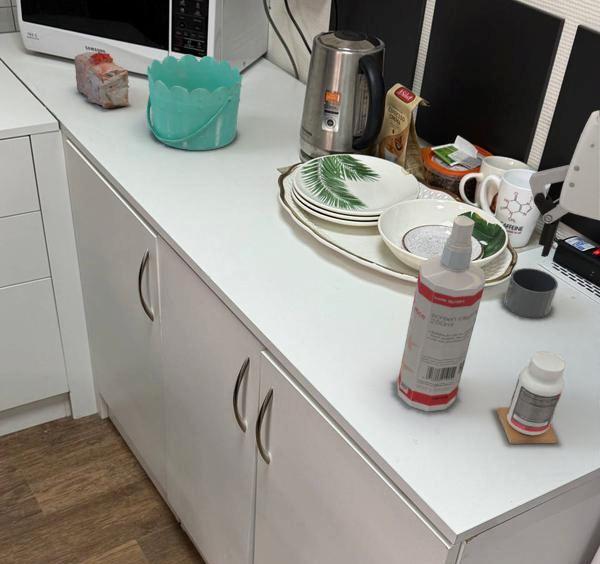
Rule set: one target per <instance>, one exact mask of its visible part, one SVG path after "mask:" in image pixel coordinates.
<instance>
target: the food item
mask: <svg viewBox="0 0 600 564" xmlns="http://www.w3.org/2000/svg"><path fill="white" fill-rule="evenodd" d="M74 69H75V81H76V90H77V91H78V92H79V93H81V94H83V95H84V96H86V97H87V100H88V102H89V103H92V104H96V105H99V106H101V107H102V108H103V109H115V108H121V107H126V106H129V88H130V85H129V74H128V73H129V72H128V69H126V68H124V67H122V66H121V65H119V64H117V63H115V62H114V58H113V57H111V55H110V53H107V52H105V53H103V52H100V51H98V52H95V51H93V52H92V51H87V52H83V53H80V54H77V55H76V56H75V57H74Z"/></svg>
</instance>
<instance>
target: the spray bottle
mask: <svg viewBox="0 0 600 564" xmlns="http://www.w3.org/2000/svg"><path fill="white" fill-rule="evenodd" d="M474 227H475V221H474V220H473V219H472V218H470V217H468V216H466V215H464V214H463V215H457V216H455V218H454V219H453V223H452V227H451V232H450V235H449V236H448V238H446V241H445V242H444V246H443V250H442V252H441V256H431V257H429V258H427V260H425V261H424V262H422V263H420V265H419V270H418V276H417V280H416V285H415V292H414V296H413V301H412V307H411V311H410V317H409V321H408V327H407V332H406V337H405V341H404V342H405V343H404V348H403V352H402V358H401V363H400V369H399V373H398V379H397V396H398V397H399V398H400V399H401V400H402V401H403V402H405V403H406V405H408V406H409V407H411V408H414V409H418V410H421V411H424V412H435V411H445V410H447V408H449V407H450V406H451V405H452V404H453V403H454V402H456V398H457V395H458V390H459V386H460V382H461V378H462V375H463V370H464V367H465V364H466V359H467V355H468V352H469V349H470V344H471V339H472V336H473V332H474V328H475V325H476V320H477V316H478V312H479V308H480V305H481V301H482V297H483V294H484V289H485V286H486V282H487V280H486V276H485V271H484V269H483V268H481V267H479V266H478V265H477V264H475V263H473V262H472V261H471V260H472V254H473V240H472V236H473V231H474Z"/></svg>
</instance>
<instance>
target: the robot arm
mask: <svg viewBox="0 0 600 564" xmlns="http://www.w3.org/2000/svg"><path fill="white" fill-rule="evenodd" d="M561 182H563V184H562V187H561V190H560V196H559V198H557V199H556V200H554V201H553V199H552V198H551V196H550V195H549V192H548V191H547V189H546V185H547V186H548V185H551V184H552V185H553V184H555V183H561ZM529 186H530V191H531V194H532V197H533V203H534V205H535V207H536V208H537V210H538V211H539V213H540V215H541V217H542V221H543V222H544V223H543V226H542V230H541V234H540V237H539V241H538V246H543V248H542V250H541V251H542V252H541V255H540V256H541V257H543V258H546V257H549V254H550V252H551V250H552V248H553V245H554V242H555V238H556V235H557V232H558V229H559V225H560V221H561V218H562V217H563V216H564V215H567V214H568V213H571V214H574V215H578V216H582V217H586V218H589V219H593V220H598V221H600V110H595V111H593V112H591V114H590V116H589V118H588V119H587V122H586V123H585V126H584V128H583V130H582V132H581V133H580V137H579V139H578V142H577V144H576V147H575V149H574V152H573V155H572V158H571V160H570V163H569V164H567V165H563V166H558V167H552V168H548V169H545V170H540V171H536V172H533V173H532V174H531V176H530V178H529Z"/></svg>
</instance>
